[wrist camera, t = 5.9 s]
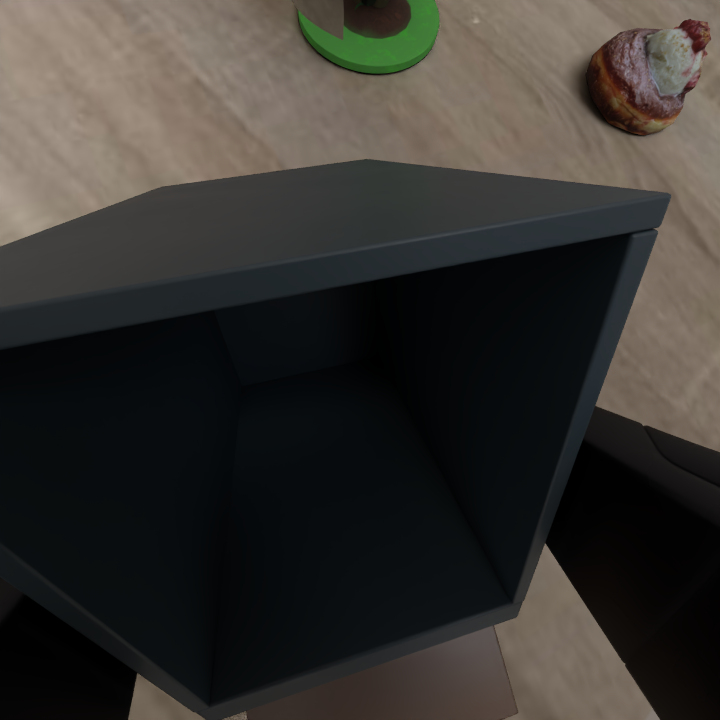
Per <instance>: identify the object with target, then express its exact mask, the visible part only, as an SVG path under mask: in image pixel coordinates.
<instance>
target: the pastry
mask: <svg viewBox="0 0 720 720" xmlns="http://www.w3.org/2000/svg"><path fill="white" fill-rule="evenodd" d="M709 31H710V28H709V26H708V22H703V21H695V20H691V19H689V20H685V21H683V22H682V23H681V24H680V26H679V27H675V28H674V29H671V30H663V29H642V28H637V29H633V30H628V31H624V32H620V33H619V34H617V35H616V36H615V37H613V38H612V39H611V40H609V41H608V42H607V43H605V44H604V45H603V46H602V47H601V48H600V49H599V50H598V51H597V52H596V53H595V54H594V55H593V56H592V58H591V61H590V63H589V66H588V69H587V72H586V78H587V82H588V86H589V90H590V94H591V97H592V99H593V101H594V103H595V104H596V106H597V107H598V108H599V110H600V111H601V113H602V114H603V116H604V117H605V119H606V120H607V122H608V123H610V124H612V125H614V126H617V127H619V128H622V129H624V130H626V131H629V132H631V133H635V134H640V135H647V134H652V133H656V132H660V131H661V130H663V129H665V128H666V127H668V126H670V125H671V124H673V123H674V121H675V119H676V118H677V116H678V115H679V113H680V111H681V110H682V108H683V103H684V98H685V94H686V93H687V92H689V91H690V90H692V89H693V88H694V87H695V86H696V84H697V81H698V79H699V77H700V75H701V69H702V62H703V60H704V58H705V57H706V55H707V52H706V50H705V46H706V45H707V44H708V42H709V41H710V40H711V37H710V32H709Z"/></svg>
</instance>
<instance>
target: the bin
mask: <svg viewBox="0 0 720 720" xmlns="http://www.w3.org/2000/svg"><path fill="white" fill-rule="evenodd" d="M670 199H671V194H669V193H664V192H655V191H646V190H637V189H629V188H620V187H611V186H602V185H593V184H584V183H575V182H566V181H557V180H549V179H540V178H531V177H522V176H513V175H504V174H495V173H486V172H477V171H468V170H460V169H451V168H442V167H433V166H424V165H415V164H406V163H397V162H388V161H380V160H371V159H364V160H356V161H349V162H342V163H334V164H327V165H319V166H312V167H305V168H297V169H290V170H282V171H275V172H268V173H260V174H253V175H245V176H238V177H231V178H223V179H216V180H209V181H201V182H194V183H186V184H179V185H172V186H164V187H160V188H157V189H154V190H151V191H149V192H146V193H143V194H141V195H138V196H135V197H133V198H130V199H127V200H124V201H122V202H119V203H116V204H114V205H111V206H108V207H106V208H103V209H100V210H98V211H95V212H92V213H89V214H87V215H84V216H81V217H79V218H76V219H73V220H71V221H68V222H65V223H63V224H60V225H57V226H54V227H52V228H49V229H46V230H44V231H41V232H38V233H36V234H33V235H30V236H28V237H25V238H22V239H19V240H17V241H14V242H11V243H9V244H6V245H3V246H1V247H0V577H1V578H3V579H4V580H5V581H7V582H8V583H10V584H11V585H13V586H14V587H15V588H17V589H18V590H20V591H21V592H23V593H24V594H25V595H27V596H28V597H30V598H31V599H33V600H34V601H35V602H37V603H38V604H40V605H41V606H43V607H44V608H45V609H47V610H48V611H50V612H51V613H53V614H54V615H55V616H57V617H58V618H60V619H61V620H63V621H64V622H65V623H67V624H68V625H70V626H71V627H73V628H74V629H75V630H77V631H78V632H80V633H81V634H83V635H84V636H85V637H87V638H88V639H90V640H91V641H93V642H94V643H96V644H97V645H98V646H100V647H101V648H103V649H104V650H106V651H107V652H108V653H110V654H111V655H113V656H114V657H116V658H117V659H118V660H120V661H121V662H123V663H124V664H126V665H127V666H128V667H130V668H131V669H133V670H134V671H136V672H137V673H138V674H140V675H141V676H143V677H144V678H146V679H147V680H148V681H150V682H151V683H153V684H154V685H156V686H157V687H158V688H160V689H161V690H163V691H164V692H166V693H167V694H168V695H170V696H171V697H173V698H174V699H176V700H177V701H178V702H180V703H181V704H183V705H184V706H186V707H187V708H188V709H190V710H191V711H193V712H196V713H198V714H199V715H200V716H202V717H203V718H205V719H206V720H221V719H224V718H227V717H230V716H233V715H236V714H239V713H242V712H244V711H247V710H250V709H253V708H256V707H259V706H262V705H265V704H268V703H270V702H273V701H276V700H279V699H282V698H285V697H288V696H291V695H294V694H296V693H299V692H302V691H305V690H308V689H311V688H314V687H317V686H320V685H322V684H325V683H328V682H331V681H334V680H337V679H340V678H343V677H346V676H348V675H351V674H354V673H357V672H360V671H363V670H366V669H369V668H372V667H375V666H377V665H380V664H383V663H386V662H389V661H392V660H395V659H398V658H401V657H403V656H406V655H409V654H412V653H415V652H418V651H421V650H424V649H427V648H429V647H432V646H435V645H438V644H441V643H444V642H447V641H450V640H453V639H455V638H458V637H461V636H464V635H467V634H470V633H473V632H476V631H479V630H481V629H484V628H487V627H490V626H493V625H496V624H499V623H502V622H505V621H507V620H510V619H513V618H516V617H517V616H518V613H519V611H520V608H521V605H522V602H523V601H524V599H525V596H526V594H527V591H528V588H529V585H530V583H531V580H532V577H533V574H534V572H535V569H536V566H537V564H538V561H539V558H540V555H541V553H542V550H543V547H544V544H545V542H546V539H547V536H548V533H549V531H550V528H551V525H552V522H553V520H554V517H555V514H556V511H557V509H558V506H559V503H560V500H561V498H562V495H563V492H564V489H565V487H566V484H567V481H568V479H569V476H570V473H571V470H572V468H573V465H574V462H575V459H576V457H577V454H578V451H579V448H580V446H581V443H582V440H583V437H584V435H585V432H586V429H587V426H588V424H589V421H590V418H591V415H592V413H593V410H594V407H595V405H596V402H597V399H598V396H599V394H600V391H601V388H602V385H603V383H604V380H605V377H606V374H607V372H608V369H609V366H610V363H611V361H612V358H613V355H614V352H615V350H616V347H617V344H618V341H619V339H620V336H621V333H622V330H623V328H624V325H625V322H626V320H627V317H628V314H629V311H630V309H631V306H632V303H633V300H634V298H635V295H636V292H637V289H638V287H639V284H640V281H641V278H642V276H643V273H644V270H645V267H646V265H647V262H648V259H649V256H650V254H651V251H652V248H653V245H654V243H655V240H656V237H657V235H658V231H657V230H655V229H653V228H658V227H659V226H660V225H661V224H662V221H663V218H664V215H665V213H666V210H667V207H668V204H669V202H670Z"/></svg>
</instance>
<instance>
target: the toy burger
mask: <svg viewBox="0 0 720 720" xmlns="http://www.w3.org/2000/svg"><path fill="white" fill-rule="evenodd" d="M292 2H293V3H294V5H295V6H296V8H297V9H298V17H299V23H300V26H301V29H302V31H303V33H304V35H305V37H306V38H307V40H308V41H309V43H310V44H311V45H312V46H313V47H314V48H315V49H316V50H317V51H318V52H319V53H320V54H322V55H323V56H324V57H326V58H327V59H329V60H330V61H332V62H334V63H336V64H338V65H340V66H342V67H345V68H348V69H351V70H354V71H358V72H364V73H373V74H382V73H391V72H396V71H400V70H403V69H406V68H409V67H411V66H413V65H414V64H416V63H418V62H419V61H420V60H422V59H423V58H424V57H425V56H426V55H427V54H428V53H429V51H430V50H431V48H432V46H433V45H434V42H435V39H436V36H437V32H438V28H439V13H438V8H437V5H436V3H435V1H434V0H292Z"/></svg>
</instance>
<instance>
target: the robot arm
mask: <svg viewBox="0 0 720 720" xmlns="http://www.w3.org/2000/svg"><path fill="white" fill-rule="evenodd" d="M545 543H546V545H547V546H548V548H549V549H550V551H551V553H552V554H553V556H554V557H555V559H556V560H557V562H558V563H559V565H560V566H561V568H562V569H563V571H564V572H565V574H566V576H567V577H568V579H569V580H570V582H571V583H572V585H573V586H574V588H575V589H576V591H577V592H578V594H579V595H580V597H581V599H582V600H583V602H584V603H585V605H586V606H587V608H588V609H589V611H590V612H591V614H592V615H593V617H594V618H595V620H596V622H597V623H598V625H599V626H600V628H601V629H602V631H603V632H604V634H605V635H606V637H607V638H608V640H609V641H610V643H611V645H612V646H613V648H614V649H615V651H616V652H617V654H618V655H619V657H620V658H621V660H622V661H623V662H624V663H626V664H625V666H626V668H627V670H628V671H629V673H630V674H631V676H632V677H633V679H634V680H635V682H636V683H637V685H638V686H639V688H640V689H641V691H642V693H643V694H644V696H645V697H646V699H647V700H648V702H649V703H650V705H651V706H652V708H653V709H654V711H655V712H656V714H657V716H658V717H659V718H660V720H720V452H718V451H715V450H712V449H709V448H706V447H703V446H700V445H698V444H695V443H692V442H689V441H687V440H684V439H681V438H678V437H676V436H673V435H670V434H668V433H665V432H662V431H660V430H657V429H655V428H652V427H649V426H643V425H642V424H641V423H639V422H636V421H633V420H631V419H628V418H625V417H623V416H620V415H618V414H615V413H612V412H610V411H607V410H604V409H602V408H599V407H597V406H595V407H594V410H593V413H592V415H591V418H590V421H589V424H588V426H587V429H586V432H585V435H584V437H583V440H582V443H581V446H580V448H579V451H578V454H577V457H576V459H575V462H574V465H573V468H572V470H571V473H570V476H569V479H568V481H567V484H566V487H565V489H564V492H563V495H562V498H561V500H560V503H559V506H558V509H557V511H556V514H555V517H554V520H553V522H552V525H551V528H550V531H549V533H548V536H547V539H546V542H545ZM136 677H137V672H136V671H134V670H133V669H131V668H130V667H128V666H127V665H126V664H124V663H123V662H121V661H120V660H118V659H117V658H116V657H114V656H113V655H111V654H110V653H108V652H107V651H106V650H104V649H103V648H101V647H100V646H98V645H97V644H96V643H94V642H93V641H91V640H90V639H88V638H87V637H85V636H84V635H83V634H81V633H80V632H78V631H77V630H75V629H74V628H73V627H71V626H70V625H68V624H67V623H65V622H64V621H63V620H61V619H60V618H58V617H57V616H55V615H54V614H53V613H51V612H50V611H48V610H47V609H45V608H44V607H43V606H41V605H40V604H38V603H37V602H35V601H34V600H33V599H31V598H30V597H28V596H27V595H25V594H24V593H23V592H21V591H20V590H18V589H17V588H15V587H14V586H13V585H11V584H10V583H8V582H7V581H5V580H4V579H3V578H1V577H0V720H128V717H129V712H130V707H131V702H132V697H133V692H134V687H135V682H136Z"/></svg>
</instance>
